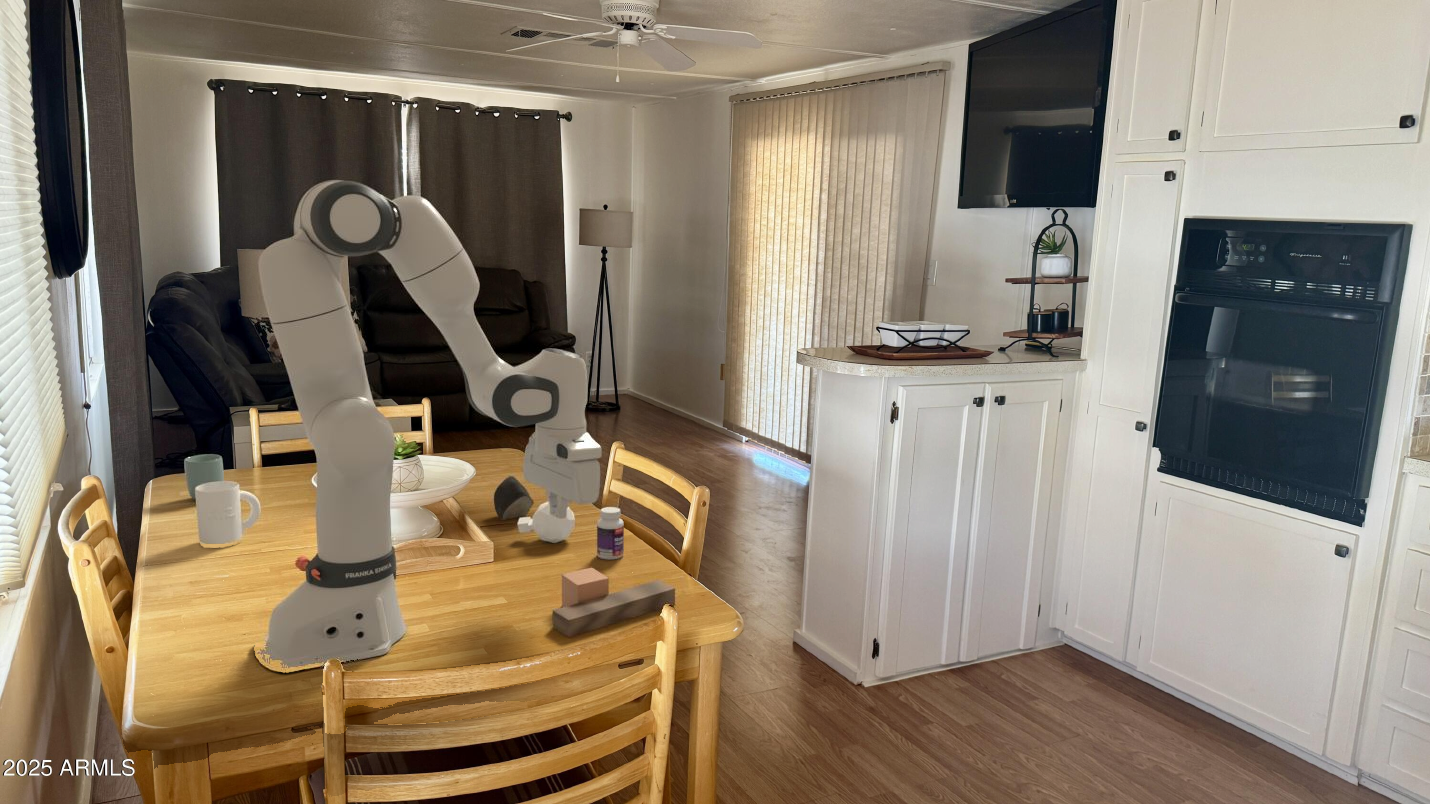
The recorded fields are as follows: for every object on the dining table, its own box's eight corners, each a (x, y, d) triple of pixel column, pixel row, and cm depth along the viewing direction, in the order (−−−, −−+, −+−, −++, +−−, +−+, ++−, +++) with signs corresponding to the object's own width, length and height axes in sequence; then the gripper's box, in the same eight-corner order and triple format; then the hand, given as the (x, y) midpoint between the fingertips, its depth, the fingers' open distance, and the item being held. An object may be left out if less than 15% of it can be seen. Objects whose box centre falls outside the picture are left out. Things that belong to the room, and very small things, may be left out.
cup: (231, 497, 223) (228, 457, 221) (199, 505, 216) (195, 463, 214) (213, 492, 227) (210, 452, 225) (181, 500, 220) (177, 459, 218)
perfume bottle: (582, 525, 202) (528, 529, 203) (574, 490, 198) (519, 494, 199) (575, 549, 195) (519, 554, 196) (567, 514, 190) (510, 518, 191)
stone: (500, 527, 212) (503, 501, 205) (486, 502, 216) (489, 476, 208) (533, 515, 216) (537, 490, 209) (518, 491, 220) (522, 465, 213)
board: (568, 637, 152) (568, 620, 151) (552, 627, 155) (552, 610, 155) (675, 604, 166) (675, 588, 165) (657, 595, 170) (658, 579, 169)
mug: (269, 539, 195) (265, 484, 192) (206, 551, 187) (201, 494, 184) (256, 529, 201) (252, 475, 198) (194, 541, 193) (190, 485, 190)
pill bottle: (619, 561, 186) (619, 514, 185) (593, 558, 187) (593, 512, 186) (627, 552, 192) (627, 506, 190) (602, 550, 193) (601, 504, 191)
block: (577, 618, 159) (577, 585, 158) (562, 606, 164) (561, 574, 163) (608, 610, 163) (608, 578, 162) (592, 599, 168) (592, 567, 167)
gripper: (515, 431, 170) (513, 504, 172) (576, 454, 155) (573, 534, 157) (545, 428, 174) (543, 500, 176) (607, 450, 159) (604, 528, 161)
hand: (557, 516), depth 167 cm, fingers closed
